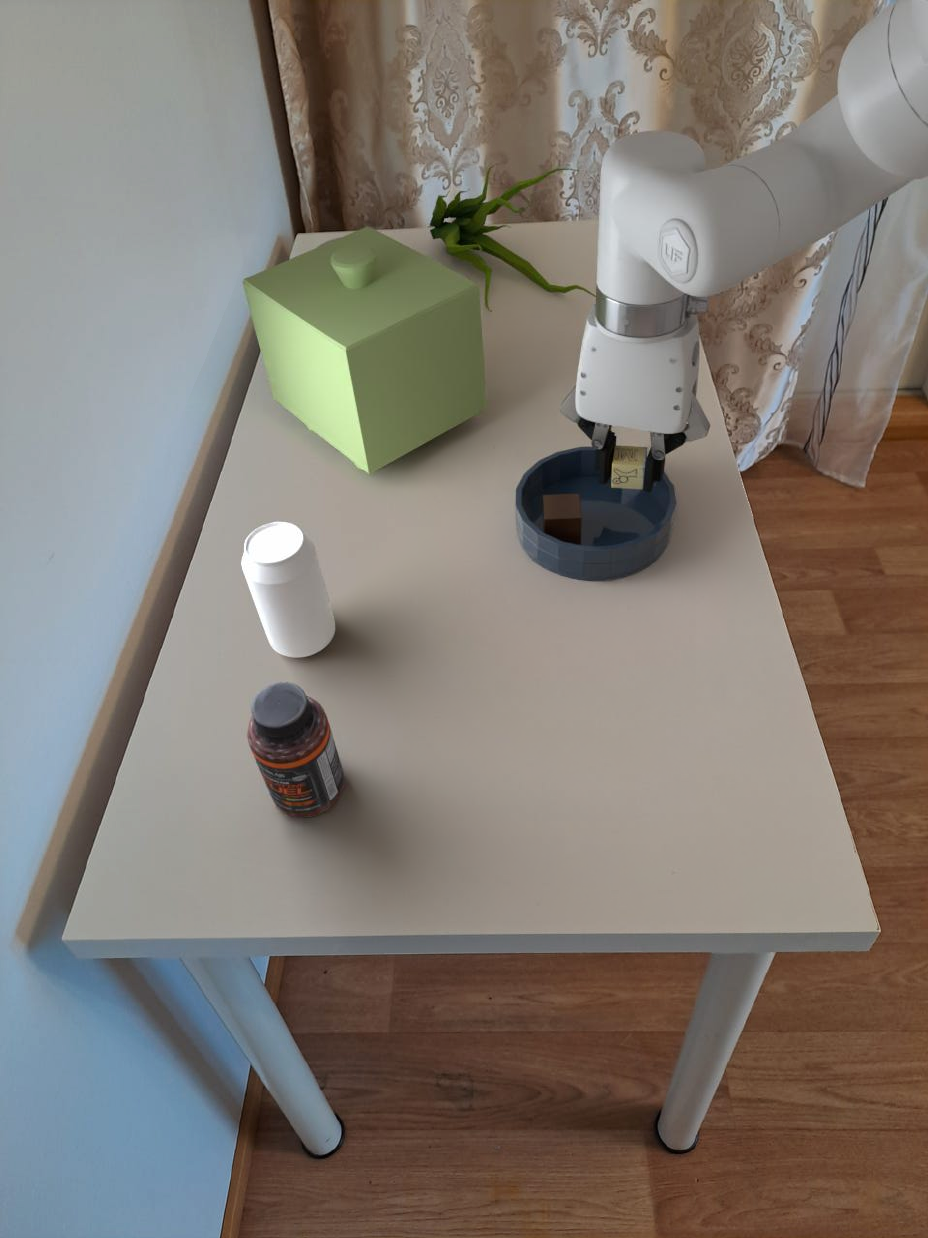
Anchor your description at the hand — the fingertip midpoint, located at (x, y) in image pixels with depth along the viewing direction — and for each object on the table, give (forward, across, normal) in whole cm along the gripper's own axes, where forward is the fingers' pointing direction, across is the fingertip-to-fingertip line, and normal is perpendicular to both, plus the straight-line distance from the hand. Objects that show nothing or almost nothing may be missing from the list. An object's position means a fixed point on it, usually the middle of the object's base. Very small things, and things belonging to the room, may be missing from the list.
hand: (628, 477), depth 87 cm
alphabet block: (0, 0, 0) cm, 0 cm away
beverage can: (+5, +24, +24) cm, 34 cm away
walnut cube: (+4, +5, +5) cm, 8 cm away
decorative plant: (+5, +27, -43) cm, 50 cm away
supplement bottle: (+5, +16, +38) cm, 42 cm away
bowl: (+5, +3, +2) cm, 6 cm away
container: (+5, +31, -8) cm, 32 cm away
